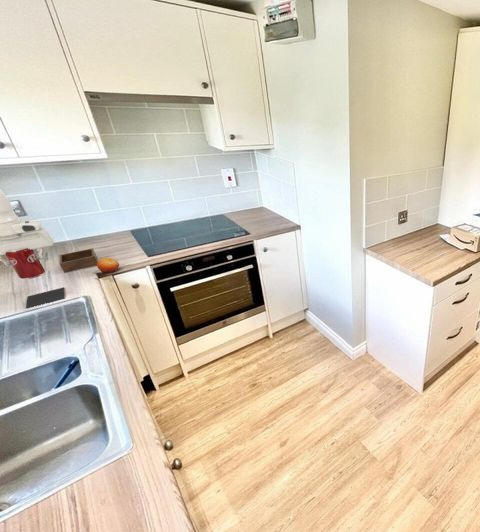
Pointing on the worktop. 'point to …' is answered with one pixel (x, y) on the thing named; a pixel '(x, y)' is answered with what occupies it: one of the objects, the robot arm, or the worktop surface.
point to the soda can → (25, 263)
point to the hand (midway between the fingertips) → (25, 261)
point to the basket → (78, 260)
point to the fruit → (107, 265)
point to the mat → (45, 297)
